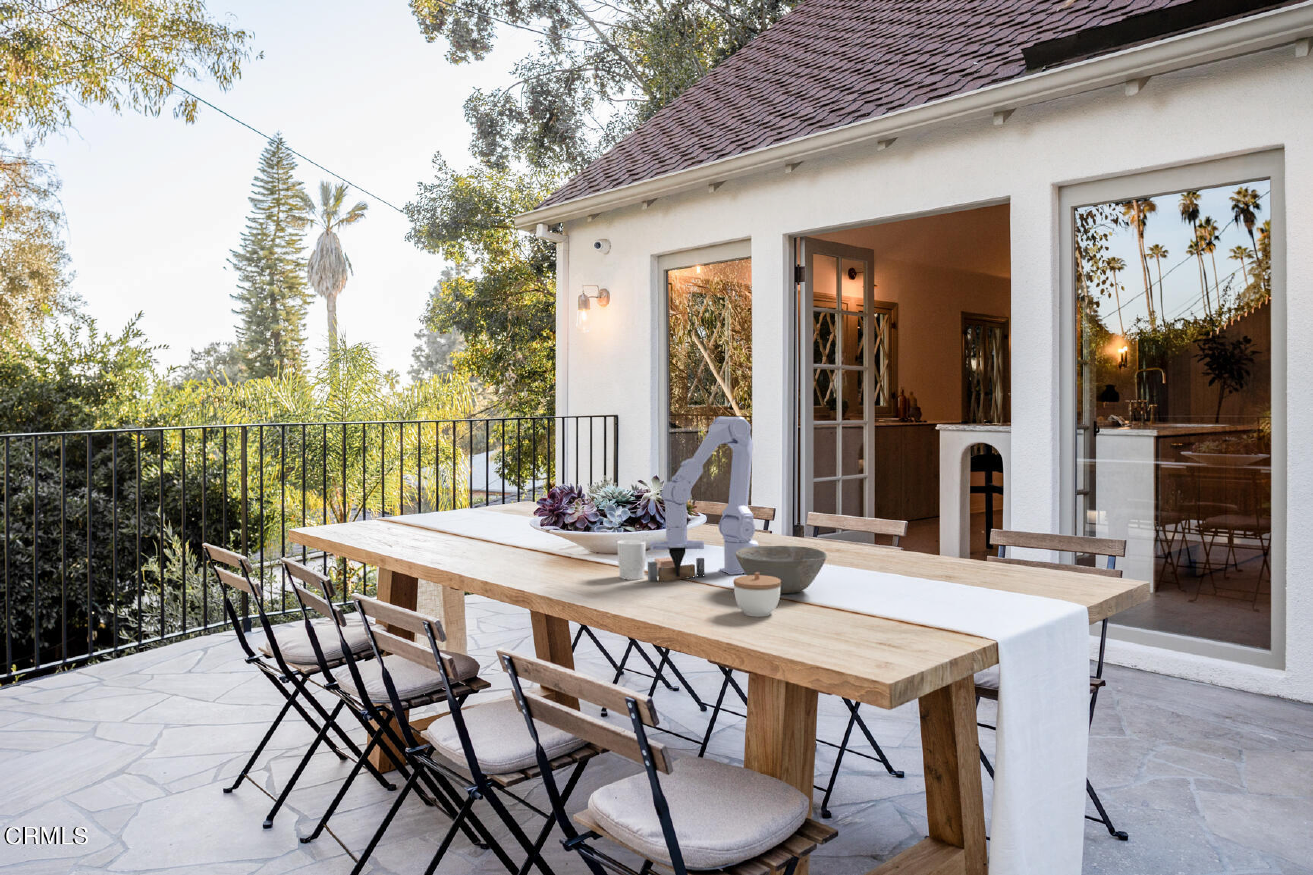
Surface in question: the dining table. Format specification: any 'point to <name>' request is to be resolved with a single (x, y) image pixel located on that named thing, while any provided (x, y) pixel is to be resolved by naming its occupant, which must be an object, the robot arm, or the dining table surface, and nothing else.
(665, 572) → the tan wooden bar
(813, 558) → the ceramic bowl
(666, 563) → the block
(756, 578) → the lidded jar
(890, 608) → the dining table surface
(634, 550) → the white cup
